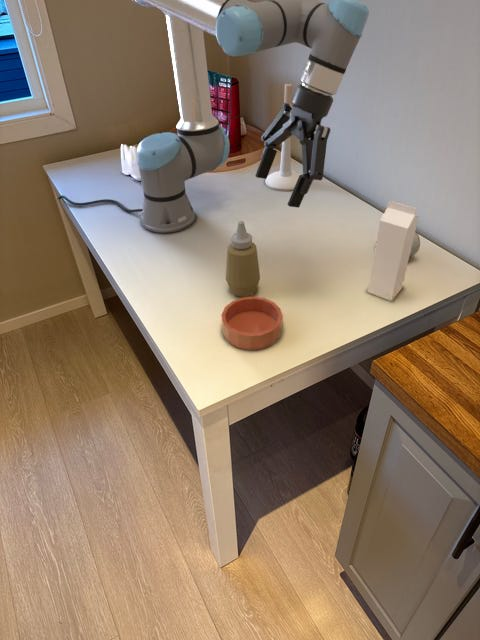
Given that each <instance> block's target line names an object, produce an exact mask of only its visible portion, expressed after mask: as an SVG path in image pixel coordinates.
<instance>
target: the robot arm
mask: <svg viewBox="0 0 480 640" xmlns="http://www.w3.org/2000/svg"><path fill="white" fill-rule="evenodd" d="M131 1H132V2H133V3H135V4H137V5H139V6H141V7H143V8H148V9H150V8H157V9H158V10H159V11H161V12H162V13H163V15H164V16H165V20H166V25H167V34H168V40H169V48H170V55H171V62H172V67H173V68H172V69H173V74H174V81H175V88H176V89H175V90H176V95H177V101H178V102H177V103H178V109H179V115H180V119H179V120H178V122H177V124H175V125H176V126H175V127H176V132H177V133H175V132H171V131H170V132H168V131H165V132H162V133H161V132H158V133H153V134H151V135H148V136H147V137H145V138H143V139H142V140H141V141H140V142H139V144H138V145H137V147H136V148H137V159H138V160H137V163H138V166H139V170H140V176H141V181H140V182H141V187H142V193H143V204H142V208H135V209H129V208H127V207H125V206H124V205H123V204H122V203H121V202H119V201H117V200H115V199H109V198H107V199H106V198H105V199H103V198H102V199H97V200H96V199H95V200H93V201H92V200H91V201H86V202H76V201H73V200H71V199H69V198H68V197H67V196H65V195H59V196H58V198H57V200H61V199H64V200H65V201H66V202H68V203H69V204H71V205H74V206H89V205H94V204H99V203H100V204H101V203H114V204H116V205H118V206H119V207H120V208H121V209H122V210H123V211H125V212H127V213H141V214H140V216H141V217H140V218H141V224H142V226H143V227H144V228H145V229H146V230H148V231H150V232H152V233H158V234H171V233H176V232H180V231H183V230H185V229H187V228H189V227H190V226H191V225H192V224H193V223H194V222H195V219H196V217H195V211H194V208H193V206H192V204H191V201H190V199H189V197H188V195H187V192H186V184H185V183H186V182H185V181H188V180H190V179H193V178H195V177H198V176H201V175H203V174H206V173H208V172H213V171H215V170H217V168H219V167H221V166H223V165H224V164H225V163H226V162H227V160H228V158H229V155H230V150H231V149H230V147H231V146H230V145H231V144H230V138H229V135H228V134H227V131H226V130H225V128H224V127H223V126H222V125H220V124H219V123H220V122H219V120H218V118H216V117H215V116H214V115H213V110H212V101H211V91H210V83H209V73H208V63H207V54H206V46H205V45H206V44H205V36H204V33H207V34H209V35H211V36H213V37H215V38H216V40H217V43H218V45H219V47H220V48H222V51H223V53H224V54H225V55H228V56H230V57H240V56H241V57H242V56H244V57H245V56H247V57H248V56H250V55H252V54H254V53H258V52H262V51H266V50H269V49H273V48H274V49H275V48H278V47H282V46H286V45H290V44H294V43H296V44H300V45H302V46H304V47H307V48H309V49H310V53H309V55H308V58H307V60H306V62H305V66H304V68H303V69H302V73H301V75H300V78H299V80H300V82H301V83H299V84H298V85H297V86H296V89H295V92H294V95H293V97H292V99H291V104H288V103H284V102H283V104H282V107H281V108H282V109H280V111H279V112H278V114H277V115H276V117H275V118H274V119H273V121H272V122H270V123H271V124H270V125H269V126H268V127H267V128H266V130H265V131H264V133H262V135H261V138H260V139H261V141H262V142H263V143H264V149H263V151H262V153H261V157H260V162H259V165H258V168H257V170H256V173H255V178H257V179H264V180H266V179H267V176H269V175H270V172H271V171H270V170H271V168H272V166H273V163H274V161H275V158H276V155H277V153H278V151H277V150H278V149H279V148H278V147H279V146H280V145H282V142H284V141H285V140H286V139H288V138H289V137H290V138H291V137H292V136H295V138H296V139H297V140H299V144H300V145H301V161H302V174H300V175H299V178H298V180H297V183H296V185H295V187H294V190H292V192H291V195H290V197H289V200H288V202H287V206H288V207H291V208H292V207H293V208H300V207H301V204H302V202H303V200H304V197H305V195H307V194H308V192H309V190H310V188H311V185H312V183H313V181H322V180H323V178H324V170H325V163H326V154H327V144H328V139H329V136H330V133H331V127H329V126H325V125H321V124H322V120H323V119H324V118H326V117H327V116H328V114H329V113H330V110H331V109H332V108H331V107H332V105H333V103H334V98H333V96H335V95H337V93H338V90H339V88H340V85H341V84H342V81H343V79H344V76H345V74H346V71H347V69H348V66H349V65H350V62H351V59H352V57H353V54H354V52H355V51H356V49H357V45H358V44H359V41H360V39H361V38H362V36H363V31H364V29H365V27H366V24H367V21H368V18H369V15H370V10H369V7H368V6H367V5H366V4H364V3H363V2H361V1H358V0H329V1H328V2H327V3H326V2H322V1H320V0H264V1H258V2H252V1H249V0H131Z"/></svg>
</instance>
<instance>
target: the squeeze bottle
mask: <svg viewBox="0 0 480 640" xmlns="http://www.w3.org/2000/svg"><path fill="white" fill-rule="evenodd" d="M259 265H260V264H259V257H258V249H257V245H256V243H255V242H253V236H252V234H251V233H249V232H247V229H246V225H245V222H244V221H243V220H240V221H239V220H238V222H237V228H236V232H235V233H233V234H232V235H231V237H230V243H229V244H228V245H227V249H226V266H225V267H226V269H225V281H226V283H227V286H228V288H229V290H230V292H231V294H233V295H234V296H236V297H240V298H242V297H251V296H253V294H254V293H255V292H256V290H257V288H258V286H259V284H260V280H261V273H260V266H259Z"/></svg>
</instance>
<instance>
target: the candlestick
mask: <svg viewBox="0 0 480 640" xmlns="http://www.w3.org/2000/svg"><path fill="white" fill-rule="evenodd" d="M292 89H293V85H292V83H289V82H288V83H285V84H284V94H283V95H284V96H283V97H284V98H283V99H284V100H283V101H284V102H283V104H284V103H288V104H291V105H292ZM281 109H282V107H281ZM281 109H280V110H281ZM291 141H292V140H291V136H290V137H289V138H288V139H286V140H285V141H284V142H282V143H281V151H280V152H281V153H280V162H279V163H280V166H279V170H277V171H274V172H271V173H269V174H268V176H267V179H264V180H265V182H264V183H265V185H266V186H267V187H268V188H270V189H272V190H276V191H284V192H286V191H293V190H294V187H295V185H296V183H297V180H298V178H299V175H301V173H299V172H297V171H293V170H292V154H291V153H292V151H291V149H292V147H291V144H292V143H291Z"/></svg>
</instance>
